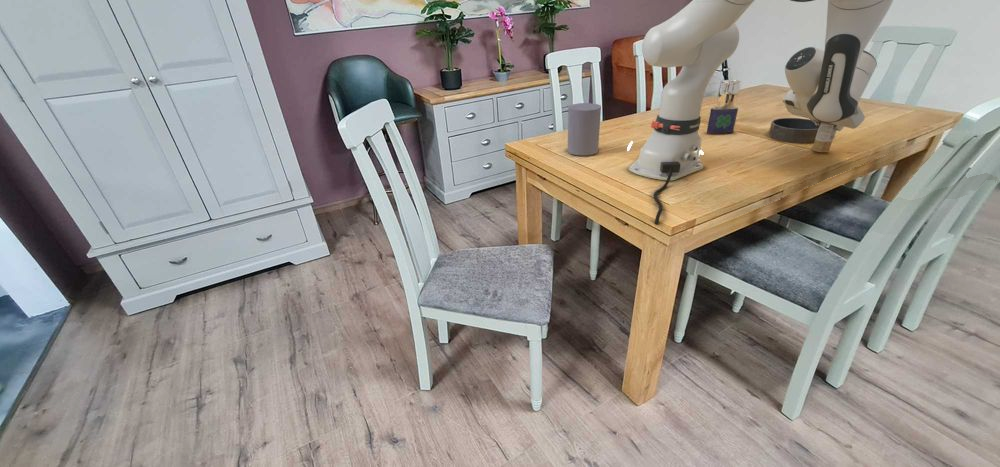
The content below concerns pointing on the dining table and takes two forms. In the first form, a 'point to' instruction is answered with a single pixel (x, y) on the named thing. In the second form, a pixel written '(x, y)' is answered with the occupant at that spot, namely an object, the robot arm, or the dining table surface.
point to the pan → (793, 130)
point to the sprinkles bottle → (824, 137)
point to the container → (583, 129)
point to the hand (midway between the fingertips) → (829, 126)
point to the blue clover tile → (722, 120)
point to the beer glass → (728, 93)
